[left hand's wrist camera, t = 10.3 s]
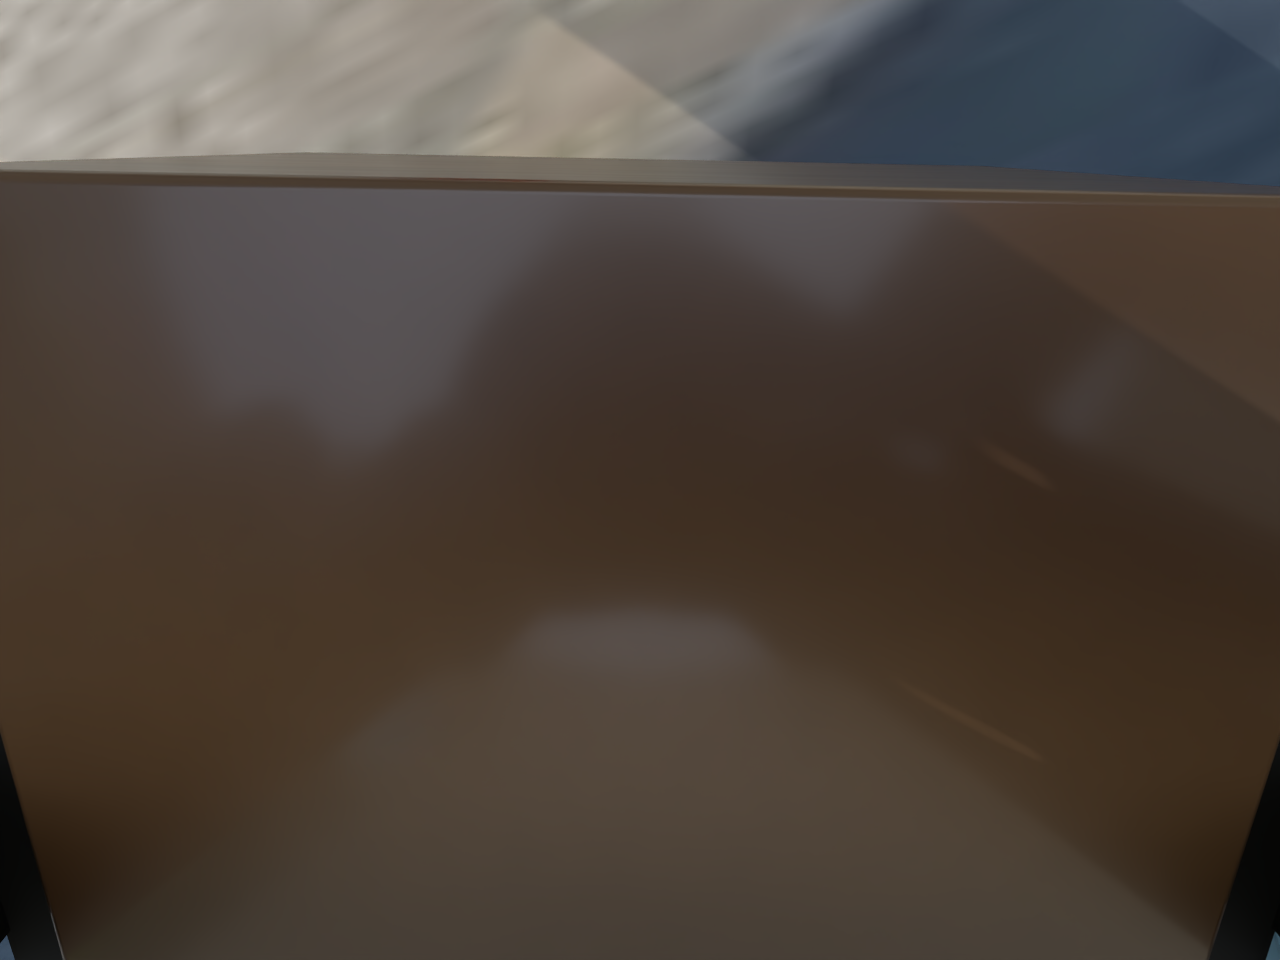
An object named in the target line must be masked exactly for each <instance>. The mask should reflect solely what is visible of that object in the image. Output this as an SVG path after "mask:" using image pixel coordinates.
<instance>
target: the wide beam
mask: <svg viewBox="0 0 1280 960" xmlns="http://www.w3.org/2000/svg"><path fill="white" fill-rule="evenodd" d="M0 734H1V737H2V741H3V744H4V748H5V752H6V755H7V759H8V762H9V766H10V770H11V773H12V777H13V781H14V784H15V788H16V791H17V795H18V799H19V802H20V806H21V809H22V813H23V817H24V820H25V824H26V827H27V831H28V835H29V838H30V842H31V845H32V849H33V853H34V856H35V860H36V863H37V867H38V871H39V874H40V878H41V882H42V885H43V889H44V892H45V896H46V900H47V903H48V907H49V910H50V914H51V918H52V921H53V925H54V928H55V932H56V936H57V939H58V943H59V946H60V950H61V954H62V957H63V960H1209V957H1210V954H1211V951H1212V948H1213V945H1214V942H1215V939H1216V936H1217V933H1218V929H1219V926H1220V923H1221V920H1222V917H1223V914H1224V911H1225V908H1226V905H1227V902H1228V899H1229V895H1230V892H1231V889H1232V886H1233V883H1234V880H1235V877H1236V874H1237V871H1238V868H1239V865H1240V861H1241V858H1242V855H1243V852H1244V849H1245V846H1246V843H1247V840H1248V837H1249V834H1250V831H1251V827H1252V824H1253V821H1254V818H1255V815H1256V812H1257V809H1258V806H1259V803H1260V800H1261V797H1262V793H1263V790H1264V787H1265V784H1266V781H1267V778H1268V775H1269V772H1270V769H1271V766H1272V763H1273V759H1274V756H1275V753H1276V750H1277V747H1278V744H1279V741H1280V187H1278V186H1264V185H1249V184H1235V183H1220V182H1206V181H1191V180H1177V179H1162V178H1148V177H1133V176H1119V175H1104V174H1089V173H1075V172H1060V171H1046V170H1031V169H1017V168H1002V167H988V166H954V165H904V164H854V163H804V162H754V161H704V160H653V159H603V158H553V157H503V156H453V155H403V154H353V153H276V154H244V155H212V156H180V157H148V158H116V159H84V160H52V161H20V162H0Z"/></svg>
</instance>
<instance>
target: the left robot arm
mask: <svg viewBox="0 0 1280 960" xmlns="http://www.w3.org/2000/svg"><path fill="white" fill-rule="evenodd" d="M6 935H7V937H8V940H9V943H10V946H11V949H12V952H13V955H14V958H15V960H63V957H62V954H61V950H60V946H59V943H58V939H57V936H56V932H55V928H54V925H53V921H52V918H51V914H50V910H49V907H48V903H47V900H46V896H45V892H44V889H43V885H42V882H41V878H40V874H39V871H38V867H37V863H36V860H35V856H34V853H33V849H32V845H31V842H30V838H29V835H28V831H27V827H26V824H25V820H24V817H23V813H22V809H21V806H20V802H19V799H18V795H17V791H16V788H15V784H14V781H13V777H12V773H11V770H10V766H9V762H8V759H7V755H6V752H5V748H4V744H3V741H2V737H1V734H0V943H1V941H2V940H3V939H4V938H5V937H6ZM1209 960H1280V741H1279V744H1278V747H1277V750H1276V753H1275V756H1274V759H1273V763H1272V766H1271V769H1270V772H1269V775H1268V778H1267V781H1266V784H1265V787H1264V790H1263V793H1262V797H1261V800H1260V803H1259V806H1258V809H1257V812H1256V815H1255V818H1254V821H1253V824H1252V827H1251V831H1250V834H1249V837H1248V840H1247V843H1246V846H1245V849H1244V852H1243V855H1242V858H1241V861H1240V865H1239V868H1238V871H1237V874H1236V877H1235V880H1234V883H1233V886H1232V889H1231V892H1230V895H1229V899H1228V902H1227V905H1226V908H1225V911H1224V914H1223V917H1222V920H1221V923H1220V926H1219V929H1218V933H1217V936H1216V939H1215V942H1214V945H1213V948H1212V951H1211V954H1210V957H1209Z"/></svg>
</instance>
